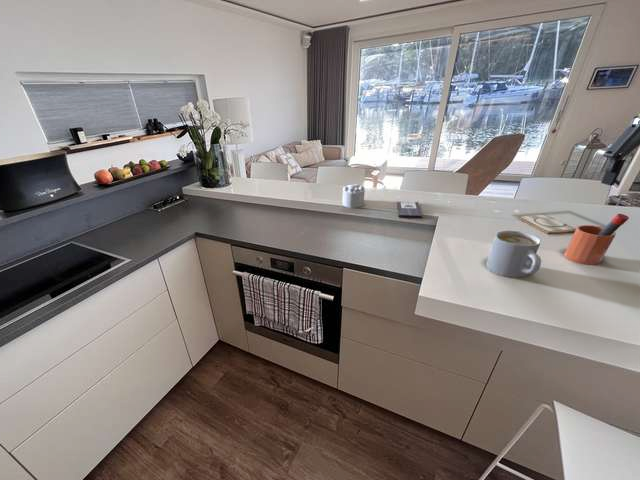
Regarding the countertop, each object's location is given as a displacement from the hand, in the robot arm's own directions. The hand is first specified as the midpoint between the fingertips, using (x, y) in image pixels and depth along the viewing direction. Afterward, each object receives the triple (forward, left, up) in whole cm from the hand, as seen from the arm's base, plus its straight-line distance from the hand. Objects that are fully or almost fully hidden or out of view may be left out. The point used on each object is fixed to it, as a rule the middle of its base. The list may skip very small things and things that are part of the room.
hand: (633, 181), depth 77 cm
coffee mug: (+31, +8, -22) cm, 39 cm away
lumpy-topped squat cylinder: (+62, -61, -22) cm, 89 cm away
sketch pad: (-6, -22, -21) cm, 31 cm away
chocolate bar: (+40, -46, -21) cm, 64 cm away
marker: (+7, +3, -20) cm, 22 cm away
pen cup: (+7, +3, -21) cm, 23 cm away
